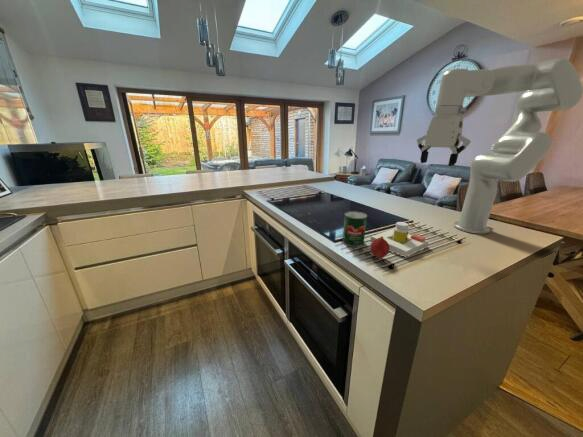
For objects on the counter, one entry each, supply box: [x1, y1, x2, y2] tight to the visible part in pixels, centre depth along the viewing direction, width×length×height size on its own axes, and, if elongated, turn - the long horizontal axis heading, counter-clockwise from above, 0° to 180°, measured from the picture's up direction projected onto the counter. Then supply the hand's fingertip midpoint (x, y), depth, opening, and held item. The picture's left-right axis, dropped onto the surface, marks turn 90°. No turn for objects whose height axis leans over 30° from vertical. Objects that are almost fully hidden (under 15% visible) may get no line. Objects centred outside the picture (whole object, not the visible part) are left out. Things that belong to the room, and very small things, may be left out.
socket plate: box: [369, 228, 430, 256], centre depth 86 cm, size 14×14×4 cm
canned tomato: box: [342, 210, 368, 247], centre depth 87 cm, size 8×8×11 cm
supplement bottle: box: [392, 221, 409, 244], centre depth 85 cm, size 5×5×8 cm
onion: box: [370, 236, 390, 260], centre depth 76 cm, size 6×6×8 cm
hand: (436, 164), depth 85 cm, fingers open, 9 cm apart
